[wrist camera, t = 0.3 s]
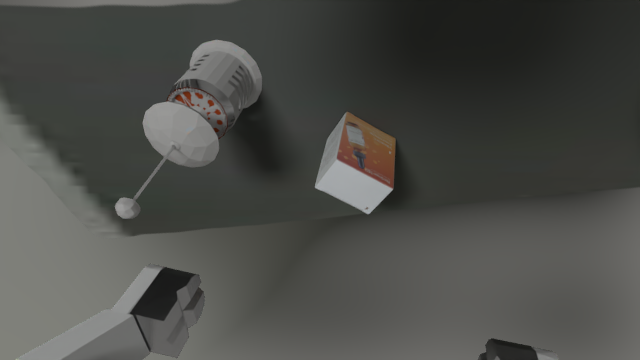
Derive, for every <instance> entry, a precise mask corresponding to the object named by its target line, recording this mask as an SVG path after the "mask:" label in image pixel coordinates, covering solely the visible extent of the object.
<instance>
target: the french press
mask: <svg viewBox="0 0 640 360" xmlns="http://www.w3.org/2000/svg"><path fill="white" fill-rule="evenodd" d="M187 79H189V84H190V86H191V87H188V84H187ZM181 80H182V82H181ZM183 80H185V87H183ZM178 82H179V83H178ZM180 82H181V84H180ZM177 84H178V85H177ZM179 84H180V88H178V86H179ZM176 86H177V87H176ZM175 88H176V89H175ZM261 91H262V76H261V73H260V71H259V68H258V66H257V63H256V62H255V61H254V60H253V59H252V57H251V56H250V55H249V54H248V53H247V52H246V51H245V50H244V49H242V48H240V47H238V46H237V45H235V44H233V43H231V42H226V41H220V40H213V41H209V42H206V43H202V44H201V45H200V46H199V47H198V48H197V49H196V50H195V51H194V52H193V55H192V58H191V61H190V69H189V70H188V71H187V72H186V73H185V74H184V75H183V76H182V77H181V78H180V79H179V80H178V81H177V82H176V84H175V85H174V86H173V87H172V89H171V92H170V94H169V95H168V98H167V102H164V103H159V104H154V105H153V106H152V107H151V108H150V109H148V110H147V111H146V113H145V116H144V120H143V126H144V131H145V135H146V137H147V138H148V140H149V141H150V143H151V144H152V146H153V147H154V148H155V149H156V150H157V151H158V152H159V153H160V154H161V155H163V156H164V158H163V160H162V161H161V162H160V164H159V165H158V166H157V168H156V169H155V170H154V172H153V173H152V174H151V176H150V177H149V178H148V180H147V181H146V182H145V183H144V185H143V186H142V187H141V189H140V190H139V191H138V193H137V194H136V195H135V197H134V198H133V199H129V198H120V199H119V201H118V202H117V203H116V206H115V209H116V211H117V214H118V215H119V216H120V217H122V218H123V219H129V218H134V217H136V216H137V215H138V213H139V212H140V210H141V209H140V206H139V205H138V203H137V202H135V200H136V199H137V198H138V196H139V195H140V194H141V192H142V191H143V190H144V188H145V187H146V186H147V184H148V183H149V182H150V180H151V179H152V178H153V176H154V175H155V174H156V172H157V171H158V170H159V168H160V167H161V166H162V164H163V163H164V162H165V160H166V159H168V160H170V161H173V162H175V163H177V164H179V165H183V166H188V167H199V166H205V165H207V164H209V163H210V162H212V161H213V160H215V157H216V155H217V153H218V151H219V143H218V139H219V138H221V137H222V136H224V134H225V133H227V132H228V131H229V130H230V129H231V128H232V126H233V125H234V124H233V123H235V121H236V120H237V118H238V117H239V114H240V113H241V112H242V109H243V108H247V107H249V106H250V105H252V104H253V103H254V102H256V101H257V99H258V97H259V95H260V93H261ZM239 109H240V111H239ZM239 112H240V113H239ZM233 116H234V117H233ZM233 119H235V120H234V121H233V122H230V121H231V120H233ZM231 124H232V125H231ZM228 125H231V126H230V127H228Z"/></svg>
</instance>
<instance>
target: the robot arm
mask: <svg viewBox="0 0 640 360" xmlns="http://www.w3.org/2000/svg"><path fill="white" fill-rule="evenodd" d="M200 283H201V279H200V276H199V275H197V274H193V273H189V272H184V271H180V270H175V269H171V268H167V267H163V266H159V265H154V264H149V265H148V266H146V267H145V268H144V269H143V270H142V271H141V272H140V274H139V275H138V276H137V278H136V279H135V280H134V281H133V283H132V284H131V285H130V286H129V288H128V289H127V290H126V292H125V293H124V294H123V295H122V297H121V298H120V299H119V301H118V302H117V303H116V305H115V306H114V307H113V308H112V310H111V309H105V310H104V311H102V312H100V313H98V314H96V315H95V316H93V317H91V318H89V319H88V320H86V321H84V322H82V323H80V324H79V325H77V326H75V327H73V328H71V329H69V330H68V331H66V332H64V333H63V334H60V335H59V336H57V337H55V338H53V339H52V340H49V341H48V342H46V343H44V344H42V345H40V346H39V347H37V348H35V349H33V350H31V351H30V352H28V353H26V354H24V355H22V356H21V357H19V358H17V359H15V360H142V359H144V358H145V357H146V356H148V355H149V354H150V352H153V353H158V354H162V355H167V356H171V357H175V358H178V356H179V354H180V352H181V351H182V349H183V347H184V345H185V343H186V342H187V340H188V338H189V332H188V328H190V327H191V326H193V325H194V324H196V323H197V321H198V319H199V318H200V316H201V314H202V310H203V307H204V302H205V296H204V292H203V291H202V290H201V289H200V288H199V285H200ZM485 346H486V352H485V353H482V354H480V356H479V358H478V360H559V358H558V356H557V355H556V353H555V352H552V351H549V350H544V349H539V348H534V347H531V346H527V345H522V344H517V343H512V342H507V341H502V340H497V339H489V340H488V341H487V343H486V345H485Z"/></svg>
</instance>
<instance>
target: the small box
mask: <svg viewBox="0 0 640 360" xmlns="http://www.w3.org/2000/svg"><path fill="white" fill-rule="evenodd" d="M395 144H396V139H395V138H394V137H392V136H390V135H388V134H386V133H384V132H382V131H380V130H379V129H377V128H375V127H373V126H372V125H370V124H368V123H366V122H365V121H363V120H361V119H359V118H358V117H356V116H354V115H353V114H351V113H349V112H346V113H345V114H344V116H343V117H342V119H341V120H340V121H339V123H338V124H337V126H336V127H335V129H334V130H333V132H332V133H331V134H330V136H329V137H328V139H327V143H326V146H325V150H324V154H323V157H322V161H321V165H320V169H319V172H318V176H317V180H316V184H315V188H317V189H319V190H321V191H324V192H326V193H328V194H330V195H332V196H334V197H336V198H338V199H340V200H342V201H344V202H346V203H348V204H350V205H352V206H354V207H356V208H358V209H359V210H361V211H363V212H365V213H366V214H369V213H370V212H371V211H372V210H374V208H375V207H376V206H377V205H378V204H379V203H380V202H381V201H382V200H383V199H384V198H385V197H386V196H387V195H388V194H389V193H390V192H391V191H392V190H393V188H394V166H395Z"/></svg>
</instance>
